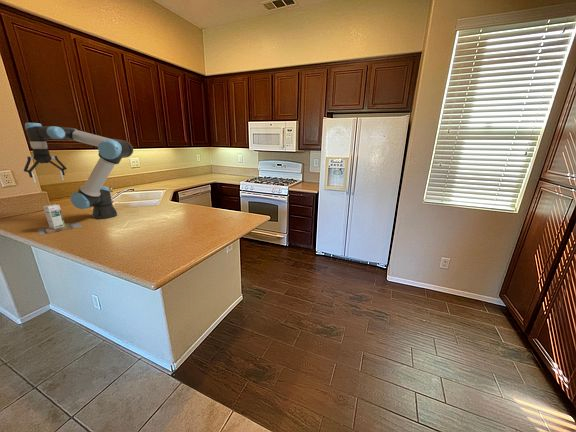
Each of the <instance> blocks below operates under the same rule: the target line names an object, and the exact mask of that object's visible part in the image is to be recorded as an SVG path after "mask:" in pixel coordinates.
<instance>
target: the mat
mask: <svg viewBox="0 0 576 432" xmlns="http://www.w3.org/2000/svg"><path fill="white" fill-rule="evenodd" d="M69 224H70V225H71V226H72V227H73V229H76V228H82V227H84V226H83V225H82V224H81V223H79V222H78V221H76V222H71V223H69ZM37 232H38V233H39V235H41V236H42V235H46V234H47V232H46V231H45V229H44V227H43V228H38V229H37Z"/></svg>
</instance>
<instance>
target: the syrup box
mask: <svg viewBox="0 0 576 432" xmlns="http://www.w3.org/2000/svg"><path fill="white" fill-rule="evenodd" d="M42 207H43V211H44V214H45V216H46V220H47V224H48V227H50V228H52V229H56V228H60V227H65V220H64V216H63V213H62V208H61V206H60V204H56V203H54V204H49V205H44V206H42Z"/></svg>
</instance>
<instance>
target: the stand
mask: <svg viewBox="0 0 576 432" xmlns="http://www.w3.org/2000/svg"><path fill="white" fill-rule="evenodd" d="M64 223H65V222H64ZM43 228H44V229H45V231H46V232H47V234H52V233H59V232H63V231H68V230H73V229H74V228H73V227H72V226H71V225H70V223H69V222H66V223H65V227H60V228H56V229H52V228H50V227H49V226H45V227H43Z"/></svg>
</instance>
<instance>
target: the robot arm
mask: <svg viewBox="0 0 576 432" xmlns="http://www.w3.org/2000/svg"><path fill="white" fill-rule="evenodd" d="M24 126H25V127H24V128H25V131H26V133H27V137H28V141H29V143H30V147H31V148H32V150H31V151H32V153H33V156H27V158H26V159H27V161H26V163H25V166H24V169H23V172H25V173H28V175H29V178H32V180H33V183H35V184H36V183H37V181H36V178H35V175H34V172H33V171H34V169H35V168H36V167H37V166H38V164H51V165H52V166H54V167H55V168H57V169H59V175H60V178H61V181H65V179H64V176H66V174H65V171H66V170H67V167H66V166H65V164H63V162H61V160H59V159H58V156H57V155H53V156H51V154H50V150H49V149H48V147H49V146H48V142H47V139H48V140H69V141H74V142H79V143H83V144H86V145H89V146H94V147H97V150H98V154H97V156H98V160H97V162H96V164H95V166H94V168H92V169H93V170H92V171H91V172H90V175H89V176H88V178H87V180H86V182H85V184H83V185H81V186H80V187H79V188H78V190H77V191H76V192H73V193H72V194H71V195H70V197H69V198H70V202H71V204H72V206H73V207H75V208H77V209H79V210H86V209H89V208H92V207H93V208H92V214H91V216H92V219H95V220H105V219H111V218H114V217H117V216H118V211H117V210H116V208H115V207H114V204H113V201H112V197H111V196H112V195H111V190H110V188H109V187H108V186H106V185H104V184H105V182H106V181H107V179H108V177H109V175H110V174H111V172H112V171H113V169H114V167H115V166H116V165H118V164H120V162H121V161H122V159H123V158H129V157H131V156H132V155H133V153H134V146H133V145H132V144H131V143H130V142H129V141H127V140H124V139H118V138H109V137H105V136H101V135H98V134H94V133H89V132H86V131H81V130H78V129H77V128H73V127H63V126H61V127H60V126H54V125H53V126H52V125H51V126H48V125H47V126H43V125H42V123H38V122H25V123H24ZM52 159H53V160H55V161H56V162H57V163H58V164H59V165H58V164H56V163H55V162H54V161H52ZM32 160H35V162H34V163H33V164H32V165H31V167H29V166H30V164H31V161H32Z"/></svg>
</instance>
